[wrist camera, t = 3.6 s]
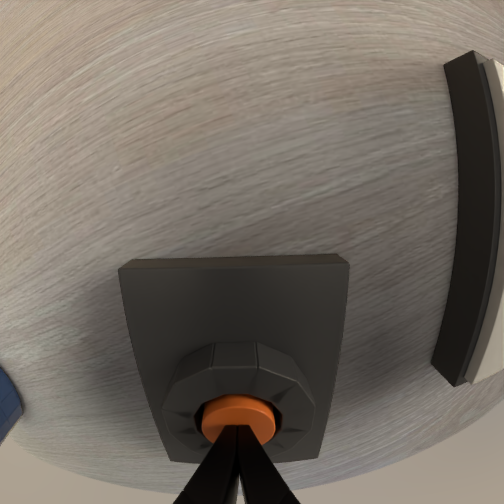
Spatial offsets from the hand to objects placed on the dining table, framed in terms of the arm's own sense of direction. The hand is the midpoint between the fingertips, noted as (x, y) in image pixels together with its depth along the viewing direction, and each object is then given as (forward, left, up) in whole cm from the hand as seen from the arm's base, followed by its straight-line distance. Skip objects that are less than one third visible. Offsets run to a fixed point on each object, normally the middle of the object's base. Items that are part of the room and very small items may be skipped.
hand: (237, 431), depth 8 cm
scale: (+7, -18, -3) cm, 20 cm away
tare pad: (0, 0, -3) cm, 3 cm away
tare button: (0, 0, -2) cm, 2 cm away
